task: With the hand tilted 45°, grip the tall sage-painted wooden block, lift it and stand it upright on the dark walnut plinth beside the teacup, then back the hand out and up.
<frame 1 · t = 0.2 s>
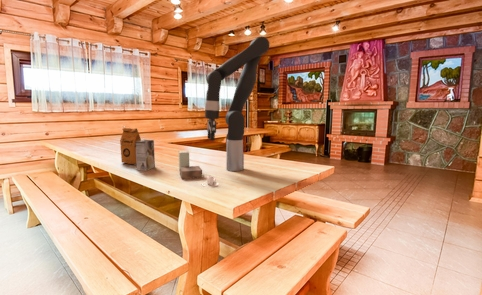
hand: (210, 139, 145), 18 cm above the table, tool pointing down, fingers open, 8 cm apart
coffee package: (132, 163, 165), on the table
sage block: (184, 171, 146), on the table
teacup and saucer: (216, 184, 124), on the table
walnut plinth: (190, 176, 136), on the table
coffee box: (146, 168, 152), on the table
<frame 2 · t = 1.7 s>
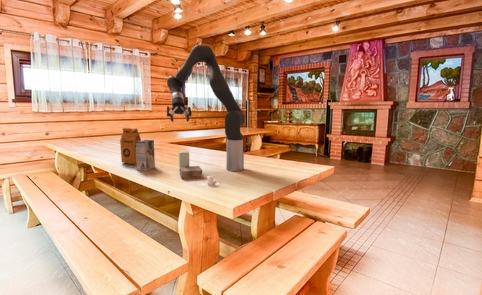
hand: (180, 120, 154), 27 cm above the table, tool tilted 45°, fingers open, 8 cm apart
nothing on the table moved.
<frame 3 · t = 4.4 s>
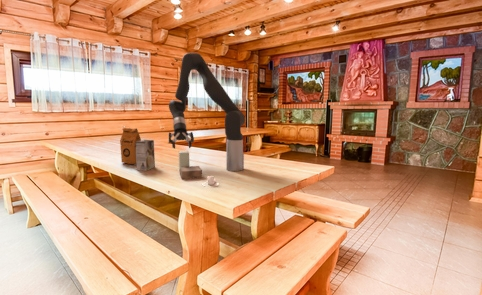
hand: (182, 147, 151), 12 cm above the table, tool tilted 45°, fingers open, 8 cm apart
nothing on the table moved.
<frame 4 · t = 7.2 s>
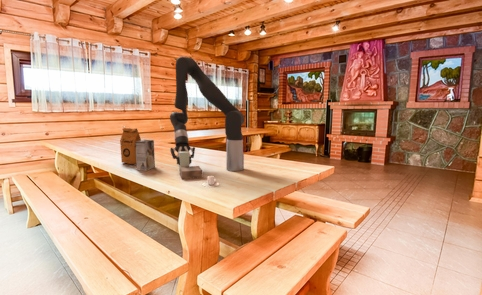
hand: (184, 163, 143), 5 cm above the table, tool tilted 45°, fingers closed on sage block, 5 cm apart
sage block: (184, 171, 146), on the table, touching gripper
everything else where it was.
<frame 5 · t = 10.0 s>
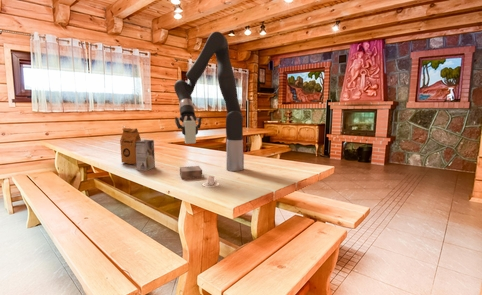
hand: (190, 133, 131), 22 cm above the table, tool tilted 45°, fingers closed on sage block, 5 cm apart
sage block: (190, 142, 134), point 17 cm above the table, touching gripper
everything else where it was.
when the fingers open (10 cm above the table, at t = 13.3 s): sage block drops 1 cm, resting on walnut plinth.
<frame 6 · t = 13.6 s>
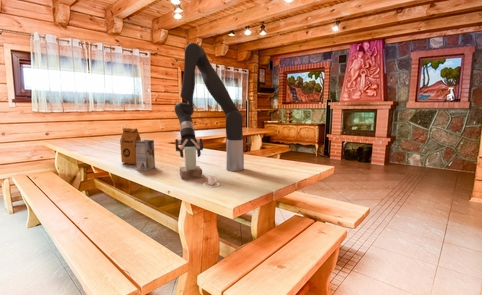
hand: (190, 156, 133), 11 cm above the table, tool tilted 45°, fingers open, 7 cm apart
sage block: (190, 168, 136), point 4 cm above the table, touching walnut plinth
everything else where it was.
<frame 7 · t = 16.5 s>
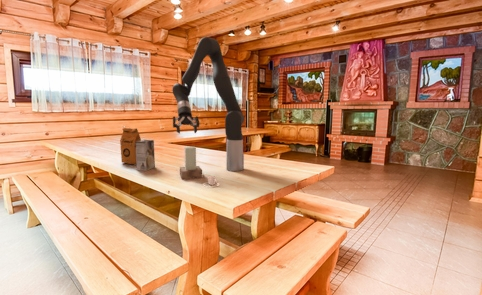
hand: (187, 132, 142), 22 cm above the table, tool tilted 45°, fingers open, 8 cm apart
nothing on the table moved.
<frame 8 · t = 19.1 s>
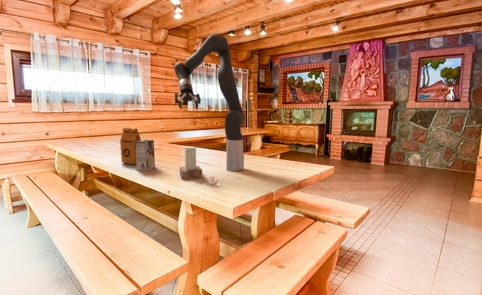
hand: (189, 107, 147), 35 cm above the table, tool tilted 45°, fingers open, 8 cm apart
nothing on the table moved.
at the end: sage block 0.1 cm off-centre on the walnut plinth, point 4.0 cm above the walnut plinth's base; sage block tilted 0°; the gripper is holding nothing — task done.
